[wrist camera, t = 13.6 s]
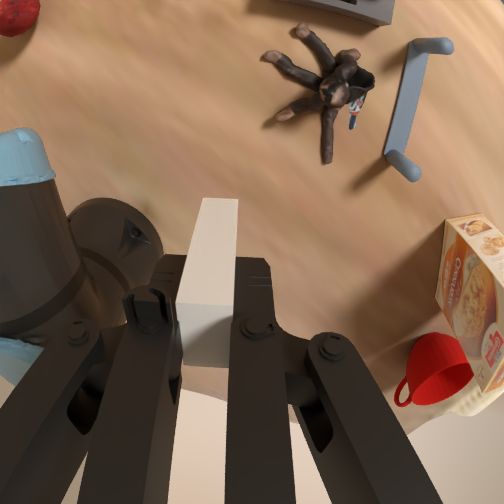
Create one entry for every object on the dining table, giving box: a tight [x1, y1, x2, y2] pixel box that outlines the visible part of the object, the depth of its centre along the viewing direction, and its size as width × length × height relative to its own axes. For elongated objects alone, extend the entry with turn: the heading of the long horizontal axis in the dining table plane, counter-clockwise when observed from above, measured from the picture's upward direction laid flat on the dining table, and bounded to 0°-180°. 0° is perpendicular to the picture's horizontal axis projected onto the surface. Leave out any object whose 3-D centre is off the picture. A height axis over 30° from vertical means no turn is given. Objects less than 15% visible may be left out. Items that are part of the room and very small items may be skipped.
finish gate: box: [383, 38, 454, 182], centre depth 27 cm, size 2×16×6 cm, turn 171°
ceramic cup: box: [394, 332, 474, 407], centre depth 49 cm, size 13×17×10 cm
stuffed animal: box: [264, 23, 375, 164], centre depth 30 cm, size 12×10×12 cm
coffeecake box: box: [435, 213, 504, 393], centre depth 33 cm, size 15×7×20 cm, turn 13°
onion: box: [0, 0, 40, 37], centre depth 19 cm, size 6×6×8 cm
